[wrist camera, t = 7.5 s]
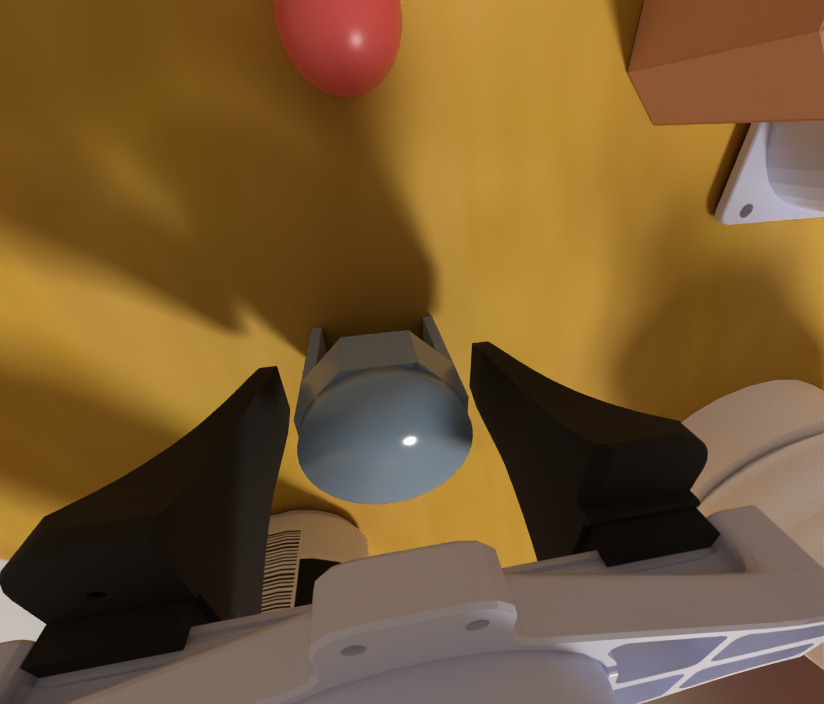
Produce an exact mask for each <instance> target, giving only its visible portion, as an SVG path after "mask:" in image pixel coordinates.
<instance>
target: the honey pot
mask: <svg viewBox="0 0 824 704" xmlns="http://www.w3.org/2000/svg"><path fill="white" fill-rule="evenodd" d="M681 423H682V424H683V425H684V426H685V427H687V428H688V429H689V430H690V431H691V432H692V433H693V434H695V435H696V436H697V437H698V438H699V439H700V440H701V441H703V442H704V443H705V445H706V447H707V449H708V458H707V462H706V464H705V467H704V469H703V470H702V472H701V474H700V475H699V477H698V478H697V480H696V482H695V483H694V485H693V486H692V488H691V490H690V491H691V492H692V493H693V494H694V495H695V496H696V497H697V498H698V499H699V501H700V505H699V506H698V507H696V508H697V509H698V510H699V511H700V512H701V513H702V514H703V515H704V516H705V517H706V518H707V517H708V516H709V515H711V514H713V513H715V512H718V511H723V510H728V509H734V508H739V507H745V506H750V505H752V506H756V507H757V508H758V509H759V510H761V511H762V512H763V513H764V514H765V515H766V516H767V517H768V518H769V519H770V520H771V521H773V522H774V523H775V524H776V525H777V526H778V527H779V528H780V529H781V530H782V531H783V532H785V533H786V534H787V535H788V536H789V537H790V538H791V539H792V540H793V541H794V542H795V543H797V544H798V545H799V546H800V547H801V548H802V549H803V550H804V551H805V552H806V553H807V554H809V555H810V556H811V557H812V558H813V559H814V560H815V561H816V562H817V563H818V564H819V565H821V566H822V567H823V568H824V391H823V390H821V389H819V388H818V387H816V386H814V385H812V384H809V383H806V382H803V381H800V380H772V381H768V382H764V383H760V384H756V385H751V386H748V387H745V388H743V389H740V390H738V391H735V392H733V393H731V394H728V395H726V396H723V397H721V398H719V399H717V400H715V401H714V402H712V403H710V404H708V405H707V406H705V407H703V408H702V409H700V410H698V411H696V412H695V413H693V414H692V415H690V416H689V417H688V418H686V419H685V420H684V421H683V422H681ZM804 655H805V656H806V657H808V658H809V659H810V660H812V661H813V662H814V663H815V664H817V665H818V666H819V667H820V668H822V669H823V670H824V642H822V643H821V644H819V645H818V646H816V647H815V648H813V649H812V650H810V651H809V652H807V653H806V654H804Z"/></svg>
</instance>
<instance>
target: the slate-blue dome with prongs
mask: <svg viewBox="0 0 824 704" xmlns="http://www.w3.org/2000/svg"><path fill="white" fill-rule="evenodd" d="M468 398H469V397H468V395H467V393H466V390H465V388H464V386H463V384H462V381H461V379H460V377H459V375H458V373H457V370H456V368H455V366H454V364H453V362H452V359H451V357H450V355H449V353H448V351H447V348H446V346H445V344H444V342H443V339H442V337H441V335H440V333H439V331H438V328H437V326H436V324H435V322H434V320H433V317H432V316H426V317H423V341H422V340H421V339H420V338H418V337H417V336H416V335H414V334H413V333H412V332H410V331H409V330H403V331H394V332H385V333H375V334H366V335H357V336H348V337H340V339H339V340H338V341H337V342H336V343H335V344H334V345H333V346H332V348H331V349H330V350H329V351H328V352H326V347H325V342H324V337H323V332H322V328H312V329H311V334H310V339H309V344H308V349H307V355H306V360H305V365H304V370H303V375H302V380H301V385H300V390H299V396H298V401H297V406H296V411H295V416H294V423H295V426H296V429H297V432H298V436H299V439H298V445H297V455H298V459H299V463H300V466H301V468H302V470H303V472H304V473H305V475H306V476H307V478H308V479H309V480H310V481H311V482H312V483H313V484H314V485H315V486H317V487H318V488H319V489H321V490H322V491H324V492H326V493H327V494H329V495H331V496H334V497H336V498H339V499H342V500H345V501H350V502H354V503H361V504H387V503H395V502H400V501H405V500H408V499H412V498H415V497H417V496H420V495H423V494H425V493H427V492H429V491H431V490H433V489H435V488H436V487H438V486H440V485H441V484H442V483H444V482H445V481H447V480H448V479H449V478H450V477H451V476H452V475H453V474H455V472H456V471H457V470H458V469H459V468H460V467H461V465H462V464H463V462H464V461H465V459H466V457H467V455H468V454H469V451H470V448H471V445H472V439H473V429H472V424H471V421H470V418H469V416H468Z"/></svg>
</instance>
